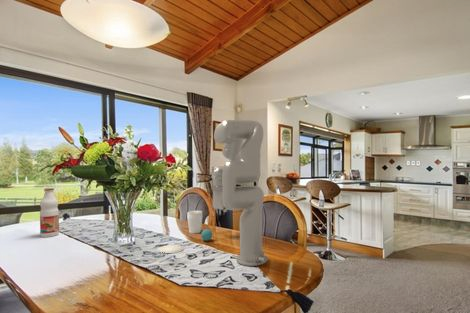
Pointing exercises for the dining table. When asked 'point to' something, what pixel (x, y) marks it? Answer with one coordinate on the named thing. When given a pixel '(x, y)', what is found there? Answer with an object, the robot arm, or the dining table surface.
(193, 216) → the cup
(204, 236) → the ball
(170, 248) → the cream rounded object
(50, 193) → the fruit juice
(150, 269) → the dining table surface
